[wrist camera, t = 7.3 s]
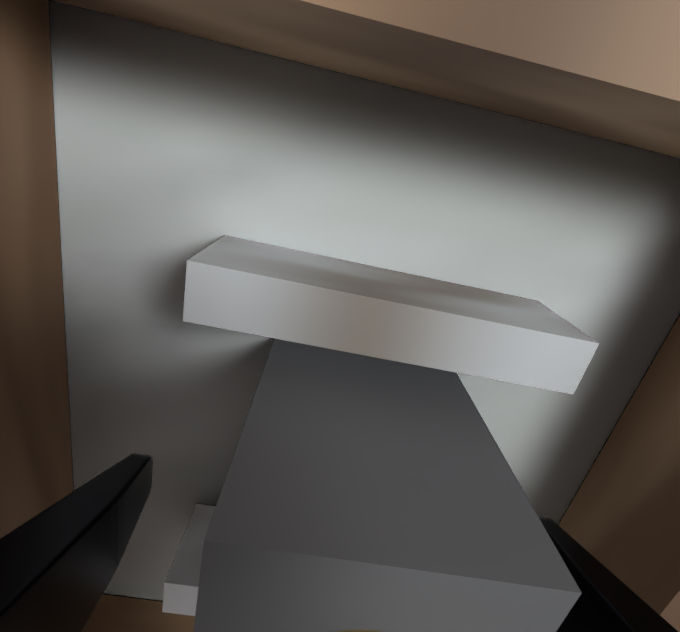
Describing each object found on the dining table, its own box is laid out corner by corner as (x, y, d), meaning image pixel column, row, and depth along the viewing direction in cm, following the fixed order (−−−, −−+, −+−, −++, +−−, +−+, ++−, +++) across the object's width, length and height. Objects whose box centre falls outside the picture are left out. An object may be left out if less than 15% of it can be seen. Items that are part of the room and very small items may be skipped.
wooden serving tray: (839, 133, 9) (1149, 115, 5) (507, 664, 16) (552, 795, 12) (-26, -99, 7) (-341, -326, 4) (45, 608, 14) (-41, 741, 11)
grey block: (454, 369, 11) (623, 665, 4) (405, 502, 13) (476, 847, 6) (275, 335, 10) (179, 610, 4) (251, 478, 12) (159, 823, 6)
